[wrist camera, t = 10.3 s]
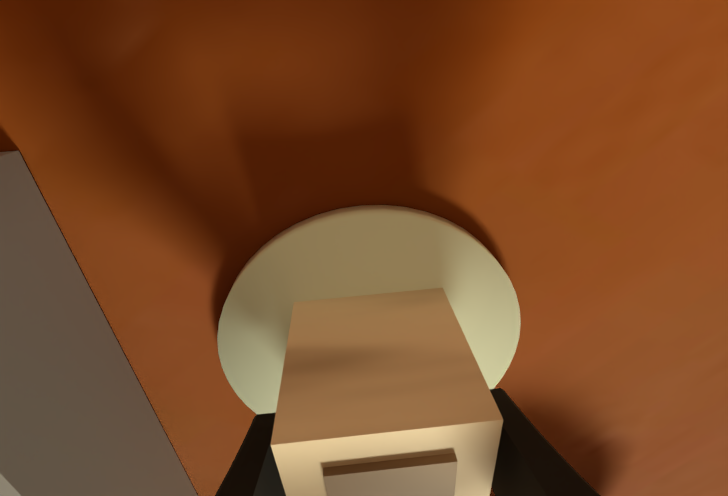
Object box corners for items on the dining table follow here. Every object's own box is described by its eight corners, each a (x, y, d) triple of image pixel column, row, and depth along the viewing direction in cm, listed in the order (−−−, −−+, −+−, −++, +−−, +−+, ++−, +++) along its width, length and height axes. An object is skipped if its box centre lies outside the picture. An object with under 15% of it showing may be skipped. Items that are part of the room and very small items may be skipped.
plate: (495, 415, 17) (502, 430, 16) (257, 441, 16) (254, 458, 16) (531, 189, 12) (544, 198, 11) (184, 221, 11) (174, 232, 11)
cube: (438, 389, 15) (485, 543, 10) (313, 402, 14) (304, 565, 10) (442, 287, 12) (507, 427, 8) (293, 302, 12) (268, 454, 7)
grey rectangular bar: (202, 504, 19) (161, 644, 14) (172, 507, 18) (122, 649, 14) (18, 150, 10) (-231, 227, 6) (-38, 155, 10) (-336, 236, 6)
